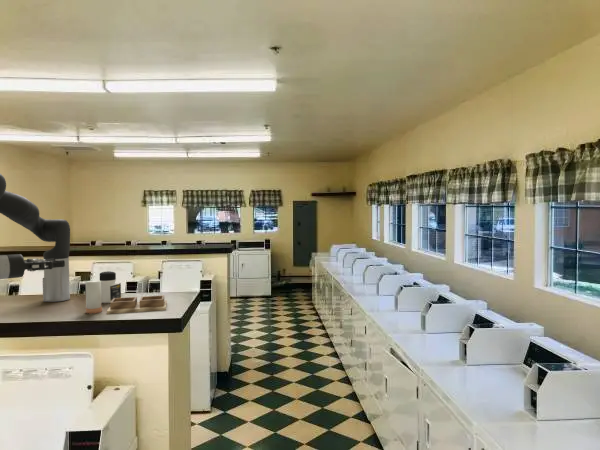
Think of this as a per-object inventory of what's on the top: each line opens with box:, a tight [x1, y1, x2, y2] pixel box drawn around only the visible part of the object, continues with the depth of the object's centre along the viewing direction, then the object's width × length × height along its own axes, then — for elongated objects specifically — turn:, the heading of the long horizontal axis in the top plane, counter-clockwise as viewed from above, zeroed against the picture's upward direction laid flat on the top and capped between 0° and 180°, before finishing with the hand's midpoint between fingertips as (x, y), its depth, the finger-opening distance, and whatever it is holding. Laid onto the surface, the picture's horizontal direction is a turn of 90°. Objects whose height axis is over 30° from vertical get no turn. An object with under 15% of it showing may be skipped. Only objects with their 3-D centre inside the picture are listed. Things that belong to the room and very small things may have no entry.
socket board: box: [106, 294, 168, 315], centre depth 171 cm, size 20×14×4 cm
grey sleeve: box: [85, 280, 103, 315], centre depth 165 cm, size 5×5×11 cm
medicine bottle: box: [99, 270, 122, 304], centre depth 185 cm, size 7×7×12 cm
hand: (59, 262), depth 156 cm, fingers open, 8 cm apart
